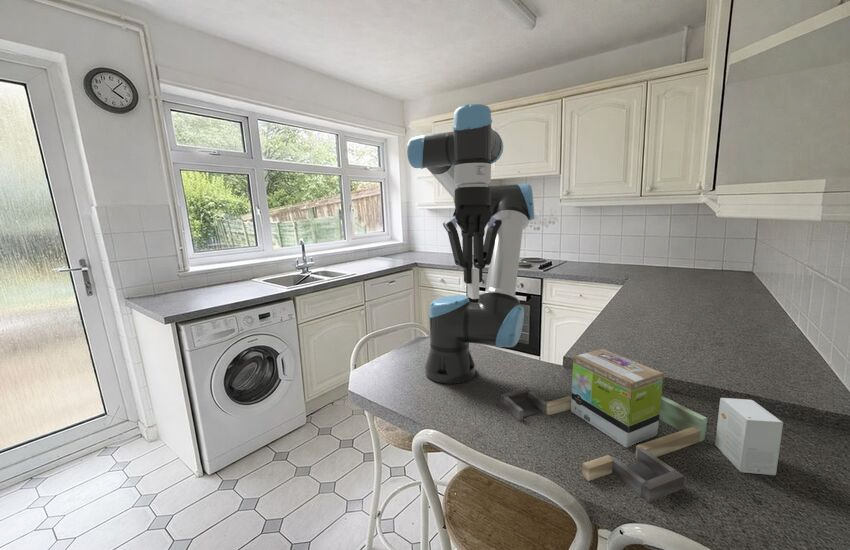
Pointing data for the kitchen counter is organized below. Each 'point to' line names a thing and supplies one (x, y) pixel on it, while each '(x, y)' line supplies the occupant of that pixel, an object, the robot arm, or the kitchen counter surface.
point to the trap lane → (649, 472)
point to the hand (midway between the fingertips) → (473, 297)
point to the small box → (748, 436)
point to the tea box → (617, 395)
